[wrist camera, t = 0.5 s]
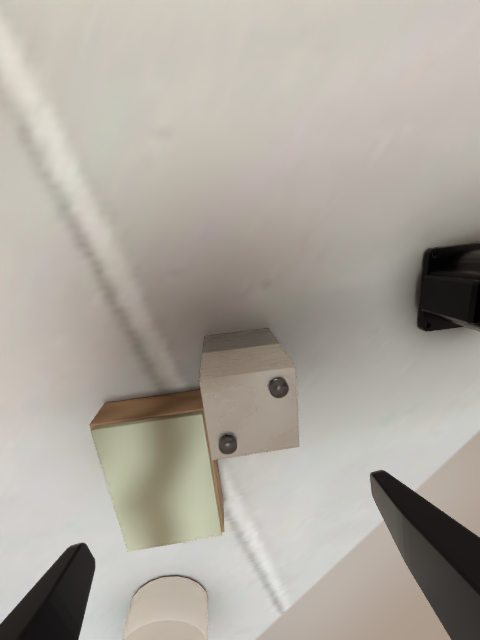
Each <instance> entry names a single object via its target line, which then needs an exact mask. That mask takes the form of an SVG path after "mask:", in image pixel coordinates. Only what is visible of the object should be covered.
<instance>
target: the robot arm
mask: <svg viewBox="0 0 480 640" xmlns="http://www.w3.org/2000/svg"><path fill="white" fill-rule="evenodd" d="M433 253H434V256H433V257H432V254H433ZM426 323H427V325H426ZM425 325H426V326H425ZM418 326H419V328H420V329H421V330H423V331H434V330H442V329H450V328H457V327H467V328H470V329H474V330H477V331H480V243H473V244H464V245H455V246H446V247H436V248H430V249H428V250H427V251H426V253H425V259H424V269H423V280H422V291H421V302H420V313H419V323H418ZM370 482H371V491H372V496H373V498H374V501H375V503H376V505H377V507H378V509H379V511H380V513H381V515H382V517H383V519H384V521H385V523H386V525H387V527H388V529H389V531H390V533H391V535H392V537H393V539H394V541H395V543H396V545H397V547H398V549H399V551H400V553H401V555H402V557H403V559H404V561H405V563H406V565H407V566H408V568H409V570H410V571H411V573H412V575H413V576H414V578H415V580H416V582H417V583H418V585H419V586H420V588H421V590H422V591H423V593H424V595H425V596H426V598H427V600H428V601H429V603H430V605H431V606H432V608H433V610H434V611H435V613H436V615H437V616H438V618H439V620H440V621H441V623H442V625H443V626H444V628H445V630H446V631H447V633H448V635H449V636H450V638H451V640H480V537H478V536H477V535H475V534H474V533H472V532H471V531H470V530H468V529H467V528H465V527H464V526H462V525H461V524H460V523H458V522H457V521H455V520H454V519H452V518H451V517H450V516H448V515H447V514H445V513H444V512H443V511H441V510H440V509H438V508H437V507H436V506H434V505H433V504H431V503H430V502H428V501H427V500H426V499H424V498H423V497H421V496H420V495H418V494H417V493H416V492H414V491H413V490H411V489H410V488H409V487H407V486H406V485H404V484H403V483H401V482H400V481H399V480H397V479H396V478H394V477H393V476H391V475H390V474H389V473H387V472H386V471H384V470H379V471H375V472H372V473H370ZM94 571H95V559H94V557H93V555H92V553H91V552H90V550H89V548H88V546H87V545H86V544H85V543H79V544H75V545H72V546H70V547H69V548H67V549H66V551H65V552H64V553H63V554H62V555H61V556H60V557H59V558H58V560H57V561H56V562H55V563H54V564H53V565H52V566H51V567H50V569H49V570H48V571H47V572H46V573H45V574H44V575H43V577H42V578H41V579H40V580H39V581H38V582H37V583H36V584H35V586H34V587H33V588H32V589H31V590H30V591H29V592H28V593H27V595H26V596H25V597H24V598H23V599H22V600H21V601H20V603H19V604H18V605H17V606H16V607H15V608H14V609H13V610H12V612H11V613H10V614H9V615H8V616H7V617H6V618H5V619H4V621H3V622H2V623H1V624H0V640H78V639H79V635H80V631H81V627H82V623H83V618H84V614H85V610H86V606H87V601H88V597H89V593H90V589H91V584H92V580H93V576H94Z"/></svg>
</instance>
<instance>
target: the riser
mask: <svg viewBox="0 0 480 640" xmlns="http://www.w3.org/2000/svg"><path fill="white" fill-rule="evenodd" d="M90 428H91V430H90V431H91V434H92V437H93V440H94V444H95V447H96V450H97V454H98V457H99V460H100V463H101V467H102V470H103V473H104V476H105V480H106V483H107V486H108V489H109V493H110V496H111V499H112V502H113V506H114V509H115V512H116V516H117V519H118V522H119V525H120V529H121V532H122V535H123V538H124V542H125V545H126V548H127V551H128V552H130V551H136V550H141V549H147V548H153V547H159V546H164V545H170V544H176V543H181V542H187V541H193V540H198V539H204V538H210V537H215V536H221V535H222V532H224V508H223V497H222V491H221V484H220V478H219V471H218V464H217V460H212V458H211V451H210V445H209V439H208V433H207V426H206V420H205V414H204V407H203V401H202V395H201V390H196V391H189V392H182V393H175V394H167V395H160V396H153V397H146V398H139V399H131V400H124V401H117V402H110V403H105V404H104V405H103V407H102V408H101V409H100V411H99V412H98V413H97V415H96V416H95V418H94V419H93V420H92V422H91V423H90Z"/></svg>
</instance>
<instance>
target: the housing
mask: <svg viewBox="0 0 480 640" xmlns="http://www.w3.org/2000/svg"><path fill="white" fill-rule="evenodd" d="M199 382H200V389H201V395H202V401H203V407H204V414H205V420H206V426H207V433H208V439H209V445H210V451H211V458H212V460H217V459H224V458H230V457H237V456H243V455H249V454H256V453H262V452H268V451H275V450H281V449H287V448H294V447H299V426H298V405H297V383H296V367H295V365H294V364H293V362H292V361H291V359H290V358H289V356H288V355H287V354H286V352H285V351H284V349H283V348H282V346H281V345H280V344H279V342H278V341H277V339H276V338H275V336H274V335H273V334H272V332H271V331H270V329H269V328H264V329H256V330H248V331H240V332H232V333H225V334H217V335H209V336H204V344H203V352H202V361H201V369H200V377H199Z"/></svg>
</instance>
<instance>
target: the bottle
mask: <svg viewBox="0 0 480 640" xmlns="http://www.w3.org/2000/svg"><path fill="white" fill-rule="evenodd" d="M207 609H208V600H207V595H206V592H205V590H204V589H203V588H202V587H201V586H200V585H199V584H198V583H197V582H195V581H193V580H191V579H189V578H184V577H178V576H171V577H162V578H159V579H156V580H153V581H150V582H149V583H147V584H146V585H144V586H143V587H142V588H140V589H139V590H138V591H137V593H136V594H135V596H134V597H133V599H132V603H131V607H130V612H129V614H128V616H127V620H126V624H125V628H124V632H123V637H122V640H208V615H207Z"/></svg>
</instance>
